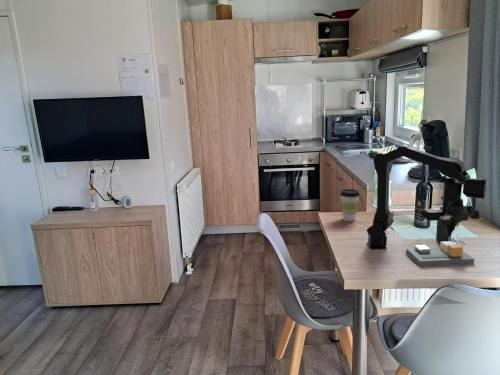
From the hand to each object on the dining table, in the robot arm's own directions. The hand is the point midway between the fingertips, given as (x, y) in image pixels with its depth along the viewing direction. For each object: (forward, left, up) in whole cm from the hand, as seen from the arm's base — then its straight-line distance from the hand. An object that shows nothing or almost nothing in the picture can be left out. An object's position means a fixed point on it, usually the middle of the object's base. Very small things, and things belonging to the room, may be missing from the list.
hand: (448, 236), depth 138 cm
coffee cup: (-21, +54, -10) cm, 59 cm away
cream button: (+4, +6, -9) cm, 11 cm away
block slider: (+3, 0, -8) cm, 8 cm away
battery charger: (+10, +19, -11) cm, 24 cm away
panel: (-1, +3, -10) cm, 11 cm away
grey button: (-6, +6, -10) cm, 13 cm away
